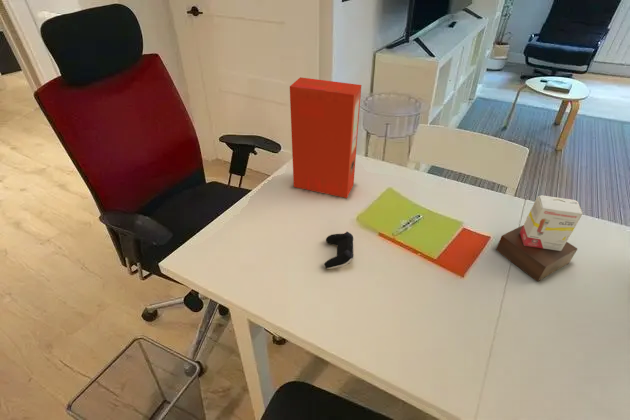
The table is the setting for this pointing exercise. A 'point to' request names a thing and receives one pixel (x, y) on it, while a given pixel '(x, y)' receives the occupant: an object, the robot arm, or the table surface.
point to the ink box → (550, 222)
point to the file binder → (324, 134)
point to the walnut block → (533, 255)
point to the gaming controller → (341, 250)
